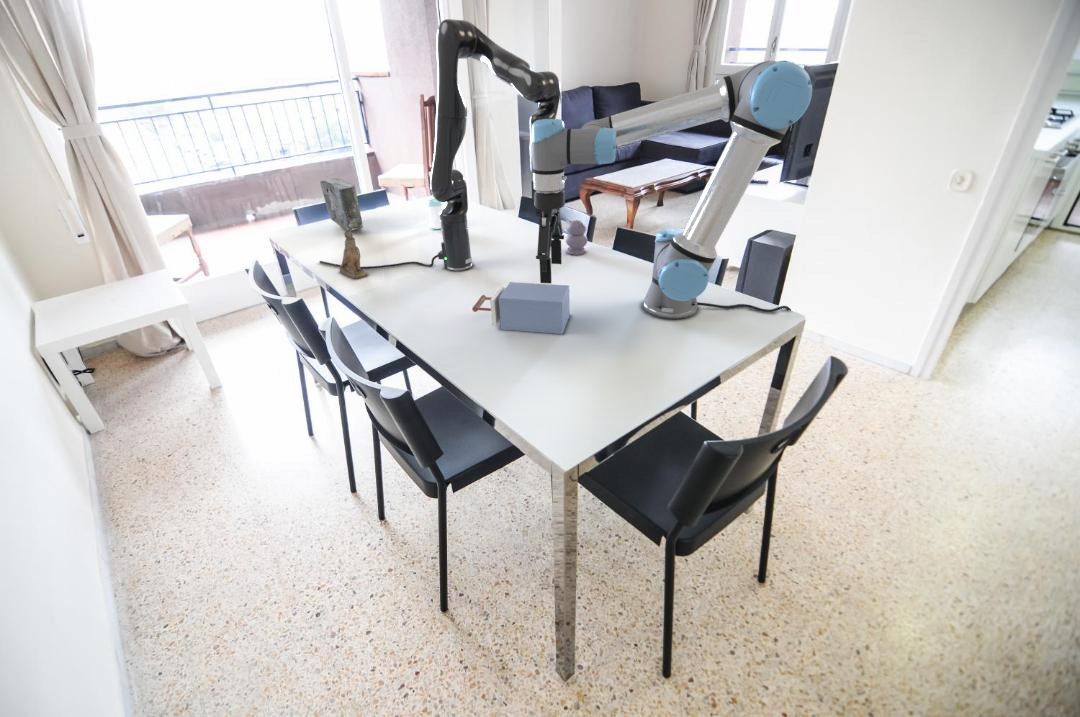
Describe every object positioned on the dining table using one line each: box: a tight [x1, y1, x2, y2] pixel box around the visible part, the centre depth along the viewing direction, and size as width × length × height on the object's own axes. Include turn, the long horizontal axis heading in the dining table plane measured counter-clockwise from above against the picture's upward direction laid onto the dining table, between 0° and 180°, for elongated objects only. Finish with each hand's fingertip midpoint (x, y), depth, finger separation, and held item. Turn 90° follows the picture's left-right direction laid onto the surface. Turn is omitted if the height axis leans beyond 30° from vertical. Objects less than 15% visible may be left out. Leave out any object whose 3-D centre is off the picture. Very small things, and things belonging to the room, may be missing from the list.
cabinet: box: [499, 281, 570, 335], centre depth 139 cm, size 17×11×10 cm, turn 77°
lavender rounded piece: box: [565, 219, 588, 256], centre depth 186 cm, size 8×8×12 cm
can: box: [426, 198, 445, 230], centre depth 220 cm, size 7×7×12 cm
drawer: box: [471, 285, 506, 326], centre depth 140 cm, size 22×10×8 cm, turn 77°
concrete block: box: [319, 177, 364, 232], centre depth 222 cm, size 27×9×20 cm, turn 36°
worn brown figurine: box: [339, 230, 367, 280], centre depth 174 cm, size 12×6×18 cm, turn 43°
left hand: (544, 212), depth 147 cm, fingers open, 8 cm apart
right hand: (551, 272), depth 131 cm, fingers open, 13 cm apart
